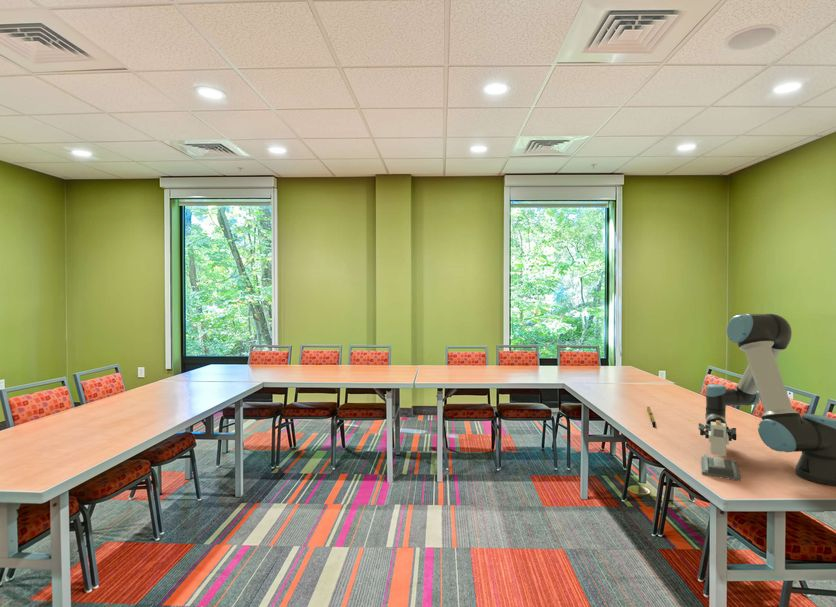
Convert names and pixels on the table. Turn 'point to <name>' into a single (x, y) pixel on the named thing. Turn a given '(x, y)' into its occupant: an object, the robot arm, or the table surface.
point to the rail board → (727, 464)
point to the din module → (718, 438)
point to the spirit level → (651, 417)
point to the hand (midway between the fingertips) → (718, 439)
